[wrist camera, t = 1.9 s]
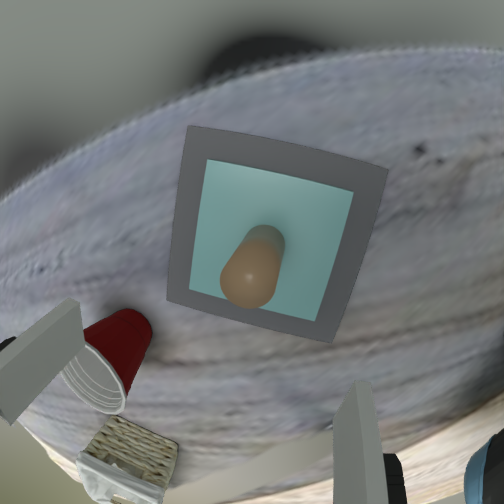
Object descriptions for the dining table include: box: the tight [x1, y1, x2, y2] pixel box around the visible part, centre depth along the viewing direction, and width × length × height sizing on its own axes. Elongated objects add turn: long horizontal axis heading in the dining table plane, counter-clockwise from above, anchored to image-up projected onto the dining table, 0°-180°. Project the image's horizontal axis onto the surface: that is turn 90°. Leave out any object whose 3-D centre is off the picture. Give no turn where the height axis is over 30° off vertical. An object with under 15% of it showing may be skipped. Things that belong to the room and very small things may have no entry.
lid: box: [189, 159, 354, 321], centre depth 26 cm, size 14×14×10 cm
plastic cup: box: [59, 309, 152, 415], centre depth 32 cm, size 11×11×12 cm
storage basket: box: [76, 415, 178, 504], centre depth 44 cm, size 24×16×15 cm
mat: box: [166, 126, 388, 343], centre depth 31 cm, size 20×20×1 cm
